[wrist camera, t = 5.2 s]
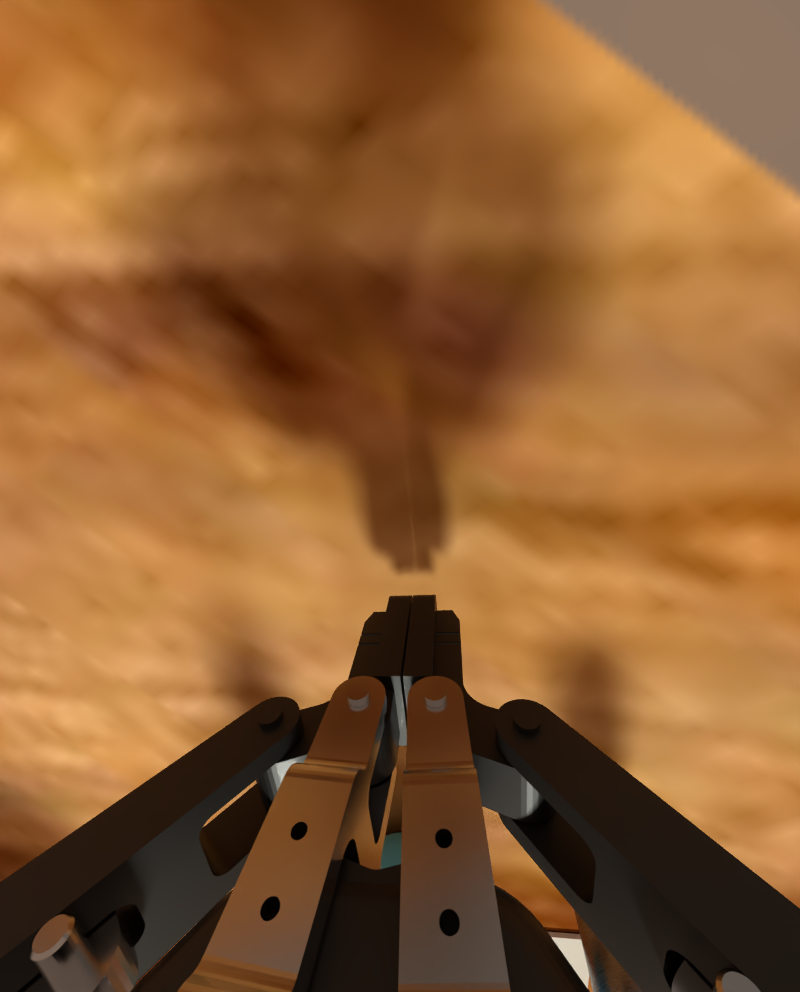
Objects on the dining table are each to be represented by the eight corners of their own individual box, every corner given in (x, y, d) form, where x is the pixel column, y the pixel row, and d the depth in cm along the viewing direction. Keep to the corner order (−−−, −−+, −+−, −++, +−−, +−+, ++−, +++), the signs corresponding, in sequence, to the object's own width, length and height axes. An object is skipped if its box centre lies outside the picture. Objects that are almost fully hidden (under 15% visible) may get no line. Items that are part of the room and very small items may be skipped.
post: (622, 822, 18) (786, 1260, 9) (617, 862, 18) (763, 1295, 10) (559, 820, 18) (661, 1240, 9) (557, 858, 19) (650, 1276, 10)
